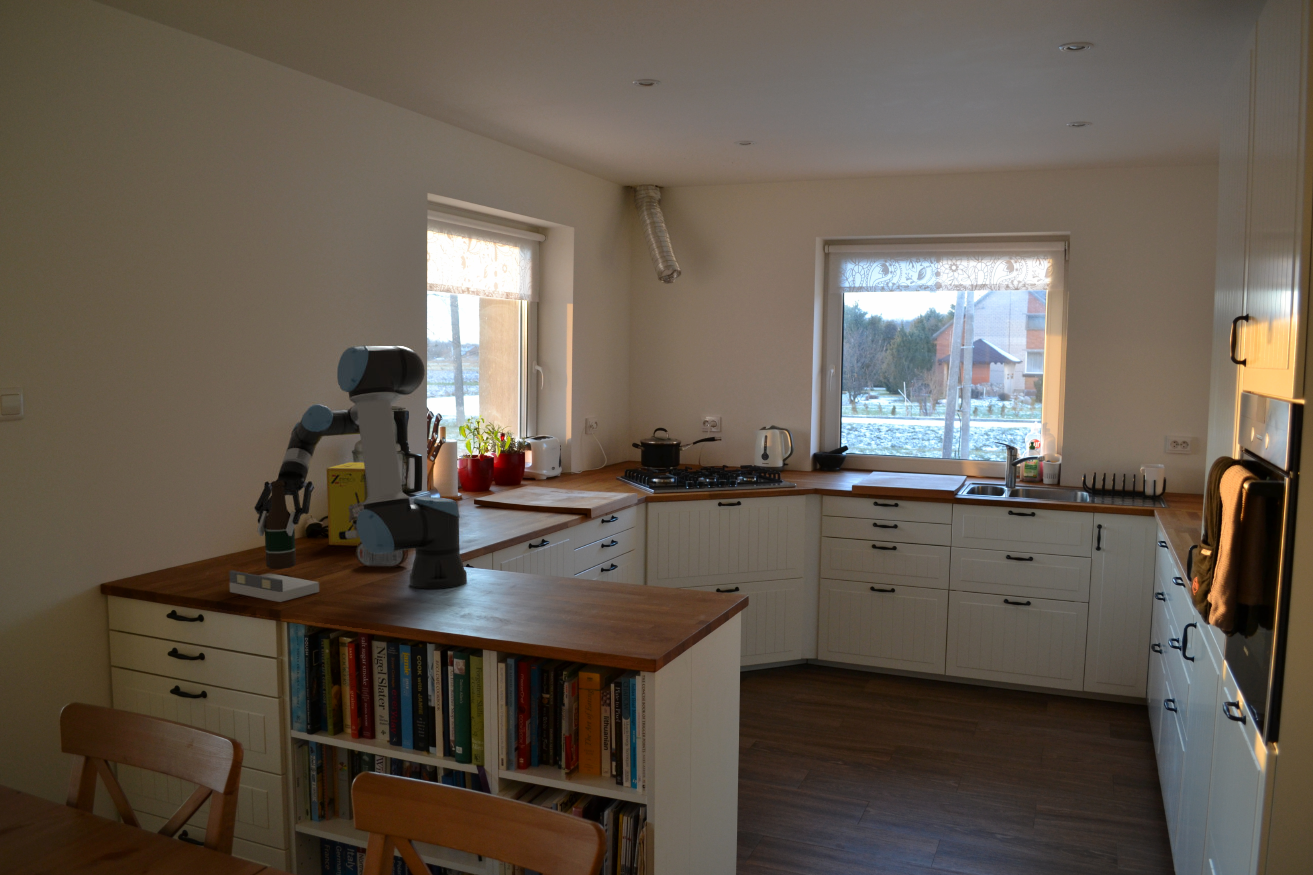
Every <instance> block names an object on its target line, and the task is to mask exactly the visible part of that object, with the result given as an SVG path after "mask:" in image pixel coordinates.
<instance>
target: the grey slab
mask: <svg viewBox="0 0 1313 875" xmlns="http://www.w3.org/2000/svg"><path fill="white" fill-rule="evenodd" d="M228 572H229V592H230V593H233V594H238V595H239V594H240V595H242V596H248V597H253V598H258V599H261V600H267V601H271V602H273V601H274V602H278V603H283V602H285V601H289V600H293V599H297V598H302V597H305V596H309V595H312V594H317V593H319V592H320V583H319V581H312V580H308V579H303V578H297V577H292V576H286V575H281V574H276V573H269V572H268V573H265V574H260V575H259V574H253V573H247V572H242V571H238V570H237V571H236V570H229V571H228Z"/></svg>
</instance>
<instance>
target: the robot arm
mask: <svg viewBox="0 0 1313 875" xmlns="http://www.w3.org/2000/svg"><path fill="white" fill-rule="evenodd" d="M425 372H426V370H425V365H424V362H423V360H422V358H421V357H420V356H419V355H418V353H417V352H415V351H414V350H412V349H411V348H408V347H406V346H401V345H394V346H393V345H392V346H391V345H390V346H389V345H388V346H387V345H359V346H350V347H348V348H347V349H345V350H344V351H343V352H342V354H341V356H340V358H339V361H338V364H337V373H336V375H337V384H338V386H339V388H340V390H341V391H343V392H345V393H348V396H349V397H348V398H349V401H350V402H352V403H353V406H351V407H350V408H348V409H333V410H332V409H330V408H329V407H327V406H326V405H322V404H319V403H318V404H312V405H311V406H309V407H308V408H307V410H306V411H305V412H304V413H303V415H302V417H301V419H300V421H299V422H296V423H295V425H294V427H293V429H292V431H291V434H290V438H289V442H288V444H287V448H286V451H285V453H284V457H283V459H282V462H281V466H280V469H279V472H278V474H277V475H278V477H277V479H276V480H275V481H284V483H285V485H284V491H285V497H286V496H292V500H293V505H294V506H293V507H294V510H291V512H290V514H291V515H290V519H289V522H288V525H287V528H286V532H287V533H288V535H289V536H292V533H293V530H294V528H295V526H297V525H298V524H299V522H300V519H301V517H302V515H308V514H309V512H310V508H311V507H310V506H311V500H312V493H313V491H314V489H315V486H314V484H313V482H312V481H311V480H310V481H308V482H307V481H306V480H307V477H308V473H309V469H310V467H311V463H312V460H313V457H314V452H315V450H316V447H317V445H318V444H319V442H320V441H321V440H322V438H323V437H332V436H333V437H334V436H347V435H360V442H361V450H362V459H363V463H364V467H365V474H366V482H367V490H368V498H367V499H366V501H365V502H364V503H363V506H364V510H362V511H361V512H360V513H359V514H358V516H357V531H358V535H359V538H360V540H361V542H362V544H363V545H364V546H365V548H366V549H367V550H368V551H370V552H371V553H374V554H380V553H391V552H396V551H402V550H408V551H409V550H413V549H415V556H414V561H413V564H412V568H411V572H410V574H409V585H410V586H411V587H412V588H416V589H424V590H439V589H449V588H454V587H459V586H462V585H464V584H466V583H467V581H468V574H467V570H465V567H464V563H463V560H462V556H461V553H460V511H459V505H458V503H457V501H455V500H453V499H451V498H444V497H433V496H417V497H415V498H414V500H413V502H412V503H411V502H410V496H408V495H407V494H405V493H404V492H403V488H402V486H403V485H402V481H401V480H402V479H401V472H400V464H399V457H398V456H399V455H398V450H397V443H396V435H395V434H396V433H395V427H394V419H393V413H392V406H394V405H395V404H396V403H398V401H399V400H401V399H402V398H403V397H404V396H409V395H411V394H412V393H414V392H416V390H417V389H418V388H420V386H421V384H422V383H423V381H424V379H425V378H424V377H425ZM303 488H304V491H303V498H302V504H301V502H300V494H299V493H300V491H301V490H303ZM271 498H272V486H271V482H269V481H268V480H267V481H265V482H264V487H263V489H262V492H261V494H260V495H259V498H258V500H257V502H256V503H255V506H254V510H255V513H256V514H257V515H258V518H257V523H258V527H257V530H256V531H257V533H258V535H259V536H260V537H264V536H265V520H266V517H267V515H268V514H269V512H270V510H271Z"/></svg>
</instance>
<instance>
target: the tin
mask: <svg viewBox="0 0 1313 875" xmlns="http://www.w3.org/2000/svg"><path fill="white" fill-rule="evenodd" d="M355 556H356V559H357V561H358V562H359V563H360V564H361V565H362V566H364V567H368V568H397V567H399V566H401V565H403V564H405V562H406V561H407V558H408V556H409V549H408V550H402V551H396V552H391V553H380V554H374V553H371V552H370V551H368V550H367V549H366V548H365V546H364V545H363V544H362V542H360V543H359V544H358V546H356V549H355Z"/></svg>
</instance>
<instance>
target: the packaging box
mask: <svg viewBox="0 0 1313 875" xmlns="http://www.w3.org/2000/svg"><path fill="white" fill-rule="evenodd" d="M326 492H327V493H326V494H327V495H326V496H327V519H328V520H327V521H328V522H327V523H328V545H330V546H331V545H333V546H356V547H357V546H358V544H359V543H360V542H361V540H360V538H359V535H358V531H357V516H358V514H359V513H360V512H361V511H362V510H364V506H363V503H364V502H365V501H366V499H367V498H368V490H367V482H366V474H365V467H364V462H356V461H355V462H354V461H350V462H346V463H342V464H337V465H333V466H330V467H327V468H326Z"/></svg>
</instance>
